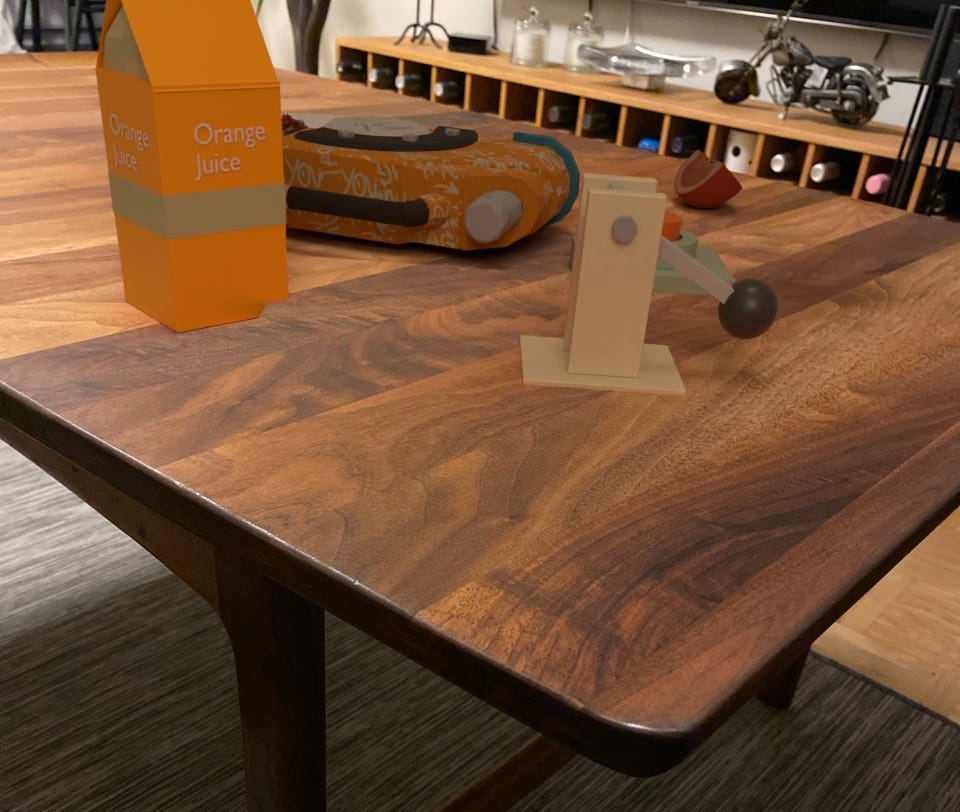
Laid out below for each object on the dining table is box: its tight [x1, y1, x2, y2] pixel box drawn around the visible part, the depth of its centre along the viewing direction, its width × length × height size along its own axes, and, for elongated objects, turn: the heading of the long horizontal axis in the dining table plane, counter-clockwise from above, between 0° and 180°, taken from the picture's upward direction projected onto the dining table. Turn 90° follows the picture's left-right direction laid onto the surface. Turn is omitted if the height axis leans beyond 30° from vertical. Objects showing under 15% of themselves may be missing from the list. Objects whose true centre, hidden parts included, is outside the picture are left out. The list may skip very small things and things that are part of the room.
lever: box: [606, 182, 779, 340], centre depth 62 cm, size 13×4×4 cm, turn 90°
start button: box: [661, 211, 683, 241], centre depth 82 cm, size 4×4×2 cm
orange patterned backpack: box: [282, 115, 581, 251], centre depth 90 cm, size 23×8×30 cm
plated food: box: [281, 112, 349, 137], centre depth 117 cm, size 30×30×3 cm
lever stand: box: [519, 172, 687, 396], centre depth 63 cm, size 10×8×12 cm
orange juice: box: [94, 0, 289, 333], centre depth 67 cm, size 8×9×20 cm
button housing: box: [569, 228, 736, 297], centre depth 84 cm, size 12×10×4 cm
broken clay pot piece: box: [673, 149, 743, 209], centre depth 108 cm, size 8×7×5 cm
